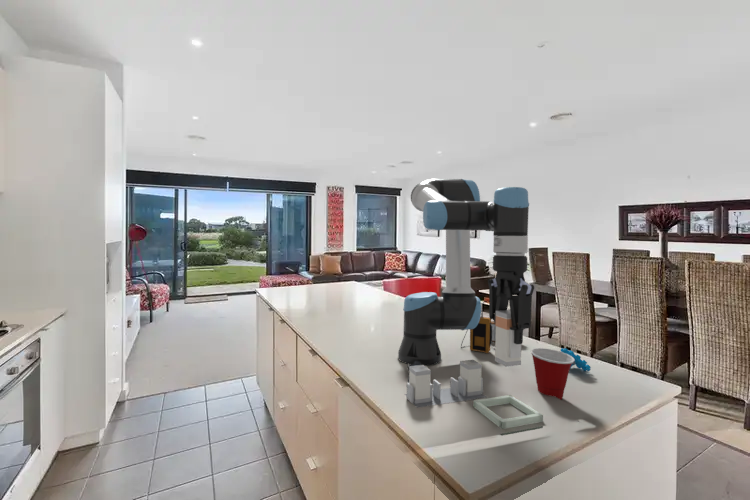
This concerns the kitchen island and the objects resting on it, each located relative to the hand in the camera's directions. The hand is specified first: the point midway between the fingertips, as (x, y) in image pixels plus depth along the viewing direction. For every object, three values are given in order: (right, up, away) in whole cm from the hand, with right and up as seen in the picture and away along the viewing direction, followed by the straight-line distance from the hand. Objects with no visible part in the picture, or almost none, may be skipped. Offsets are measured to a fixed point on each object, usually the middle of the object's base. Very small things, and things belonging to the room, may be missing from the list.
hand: (508, 353), depth 85 cm
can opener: (-20, -16, +20) cm, 32 cm away
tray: (0, -16, +1) cm, 16 cm away
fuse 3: (0, -2, 0) cm, 2 cm away
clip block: (-13, -15, +10) cm, 22 cm away
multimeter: (+11, -15, +57) cm, 60 cm away
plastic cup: (+17, -16, +13) cm, 27 cm away
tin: (+22, -15, +66) cm, 71 cm away
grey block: (-20, -14, +8) cm, 25 cm away
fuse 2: (-6, -14, +12) cm, 19 cm away
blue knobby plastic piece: (+34, -16, +34) cm, 51 cm away
